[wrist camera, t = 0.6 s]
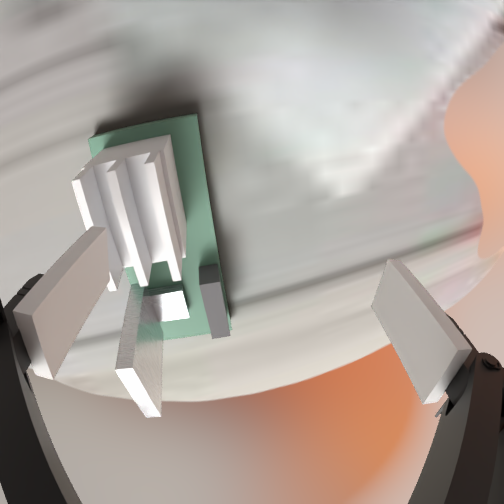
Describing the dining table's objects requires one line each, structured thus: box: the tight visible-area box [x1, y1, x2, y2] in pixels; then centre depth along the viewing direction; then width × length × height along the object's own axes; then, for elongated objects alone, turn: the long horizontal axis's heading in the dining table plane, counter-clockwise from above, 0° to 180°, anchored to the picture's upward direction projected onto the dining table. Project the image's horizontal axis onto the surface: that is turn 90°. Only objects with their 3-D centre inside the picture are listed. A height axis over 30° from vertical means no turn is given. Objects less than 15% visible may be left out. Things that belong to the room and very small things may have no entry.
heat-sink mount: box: [71, 113, 232, 340], centre depth 23 cm, size 20×8×9 cm, turn 5°
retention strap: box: [115, 283, 189, 418], centre depth 24 cm, size 6×4×10 cm, turn 5°
